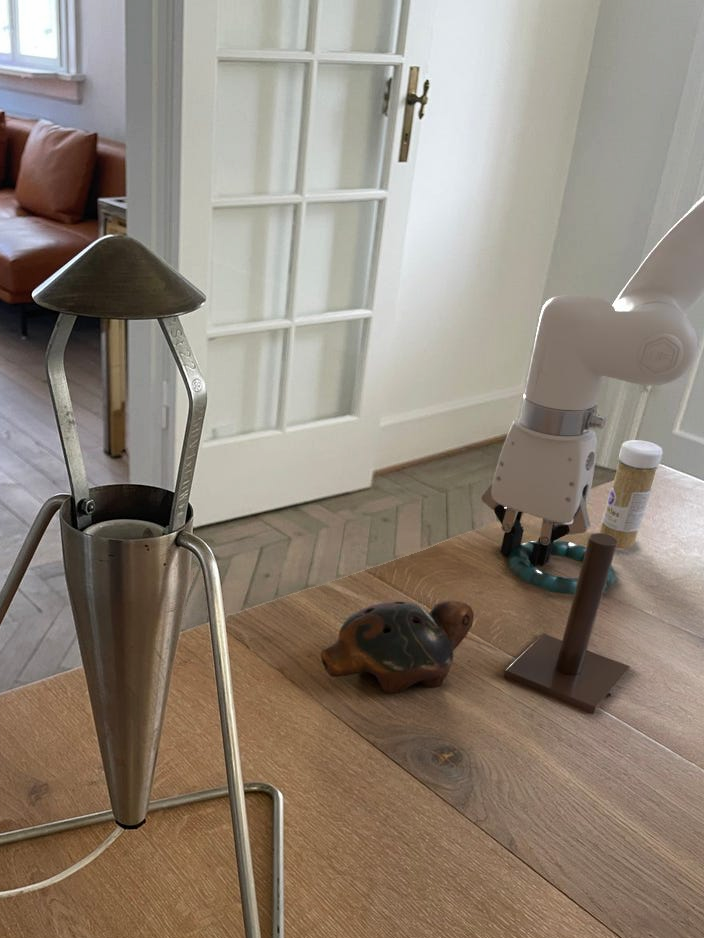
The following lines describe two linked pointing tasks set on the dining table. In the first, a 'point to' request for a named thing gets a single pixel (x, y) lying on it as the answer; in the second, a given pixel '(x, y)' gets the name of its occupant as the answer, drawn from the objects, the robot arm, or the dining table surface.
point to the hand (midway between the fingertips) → (522, 563)
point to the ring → (536, 577)
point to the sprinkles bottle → (630, 491)
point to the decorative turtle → (400, 643)
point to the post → (575, 642)
